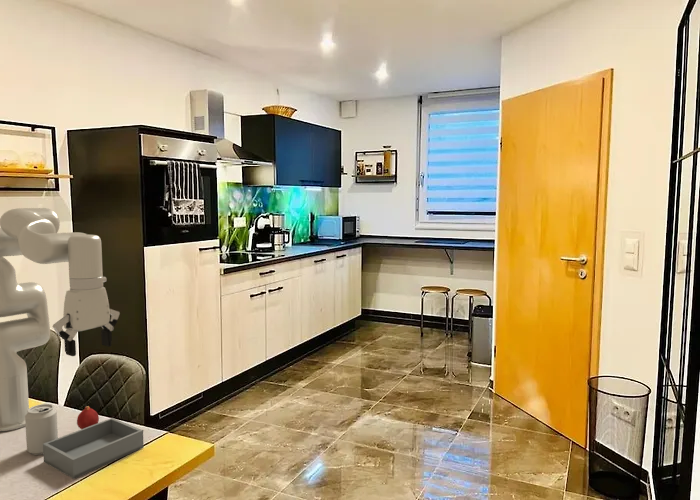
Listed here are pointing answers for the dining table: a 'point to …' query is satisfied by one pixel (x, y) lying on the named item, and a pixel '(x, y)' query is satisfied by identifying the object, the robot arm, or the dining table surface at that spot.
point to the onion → (87, 418)
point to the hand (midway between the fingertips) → (89, 350)
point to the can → (40, 427)
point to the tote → (92, 447)
